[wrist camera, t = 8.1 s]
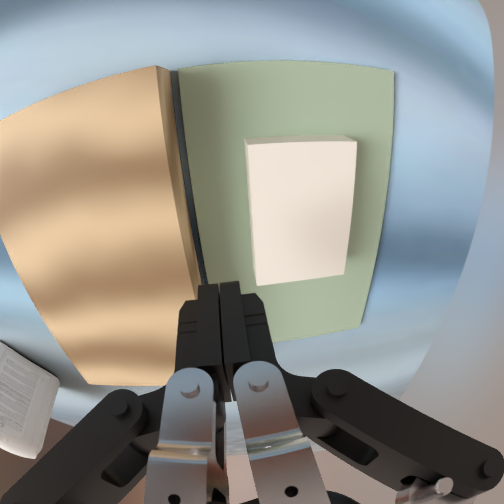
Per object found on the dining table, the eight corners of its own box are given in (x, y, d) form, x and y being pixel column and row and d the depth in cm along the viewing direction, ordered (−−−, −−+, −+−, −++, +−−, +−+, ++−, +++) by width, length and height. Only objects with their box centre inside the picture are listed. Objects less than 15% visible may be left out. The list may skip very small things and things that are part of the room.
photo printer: (-6, 349, 24) (-37, 425, 13) (-6, 334, 22) (-42, 416, 12) (57, 388, 28) (38, 468, 18) (62, 376, 27) (41, 465, 16)
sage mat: (178, 69, 13) (177, 68, 13) (390, 70, 14) (393, 70, 14) (221, 345, 25) (221, 348, 25) (357, 324, 26) (359, 327, 26)
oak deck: (8, 122, 12) (-28, 136, 9) (170, 70, 13) (155, 65, 10) (97, 351, 24) (89, 384, 21) (215, 345, 25) (217, 382, 22)
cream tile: (357, 141, 14) (342, 135, 16) (247, 145, 14) (244, 138, 16) (343, 274, 19) (334, 258, 21) (256, 286, 19) (253, 268, 20)
